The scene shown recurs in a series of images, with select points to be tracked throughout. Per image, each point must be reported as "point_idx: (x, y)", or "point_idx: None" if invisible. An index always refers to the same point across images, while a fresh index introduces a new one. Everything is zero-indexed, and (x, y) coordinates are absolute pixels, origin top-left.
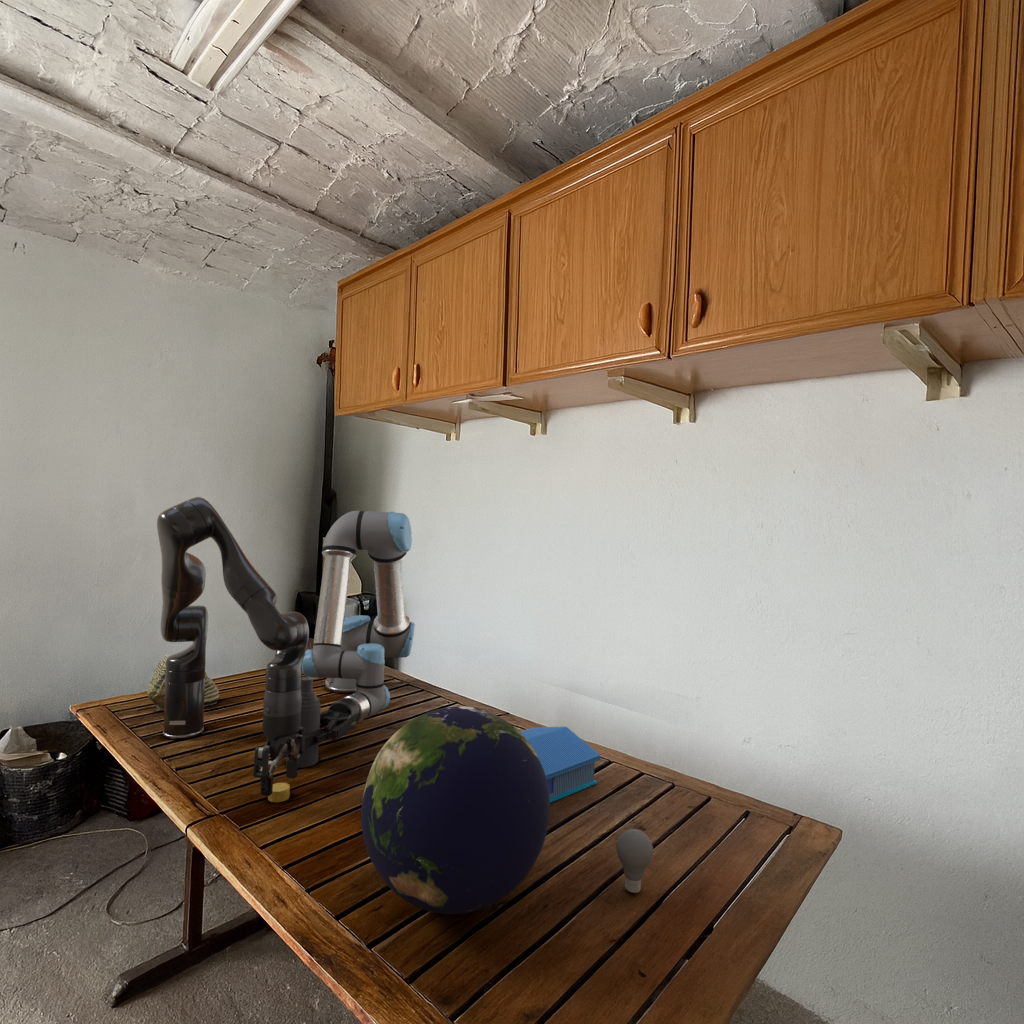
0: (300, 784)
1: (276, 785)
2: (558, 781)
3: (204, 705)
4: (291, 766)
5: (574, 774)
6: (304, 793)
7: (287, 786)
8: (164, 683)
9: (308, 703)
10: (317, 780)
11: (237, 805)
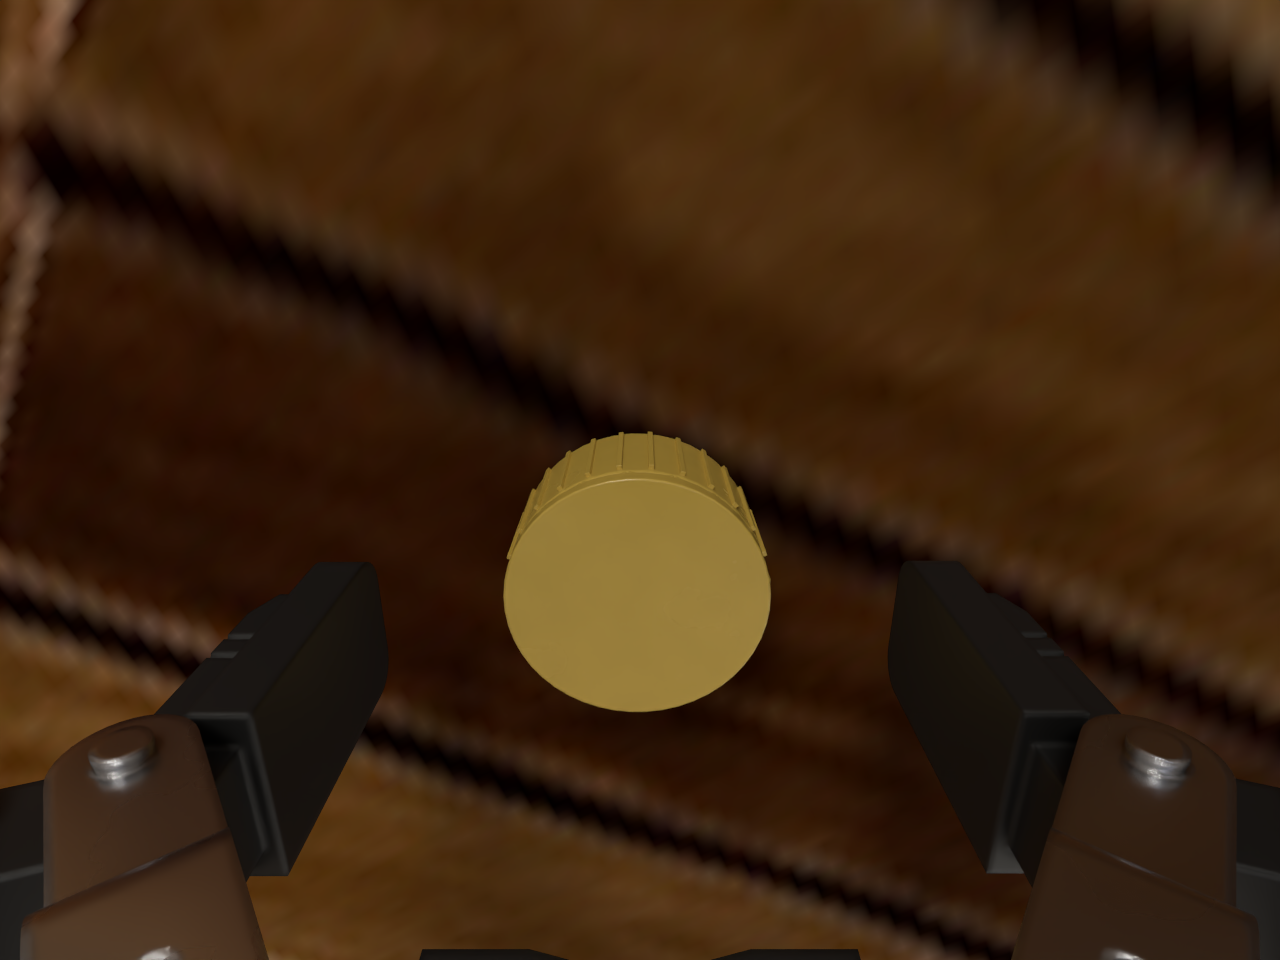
0: (1004, 566)
1: (666, 546)
2: None
3: None
4: (958, 734)
5: None
6: (812, 705)
7: (685, 681)
8: None
9: None
10: (1133, 670)
11: (283, 210)
